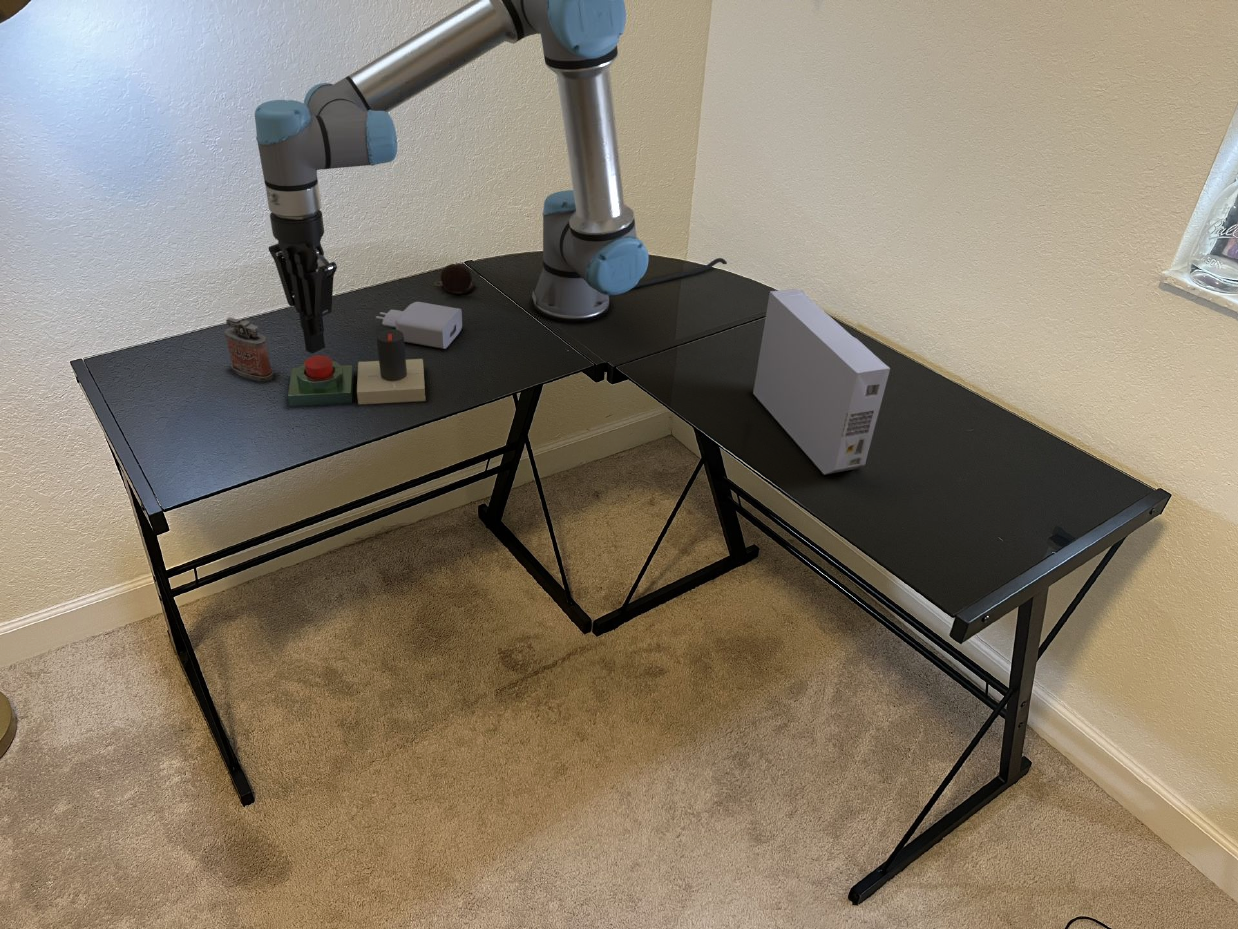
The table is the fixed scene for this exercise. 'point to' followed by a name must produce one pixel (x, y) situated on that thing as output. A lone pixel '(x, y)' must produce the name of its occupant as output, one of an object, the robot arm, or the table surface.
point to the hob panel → (390, 384)
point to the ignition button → (319, 367)
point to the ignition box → (321, 387)
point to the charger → (426, 323)
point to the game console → (819, 382)
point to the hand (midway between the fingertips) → (315, 349)
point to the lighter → (248, 350)
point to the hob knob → (391, 354)
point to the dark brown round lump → (456, 279)
